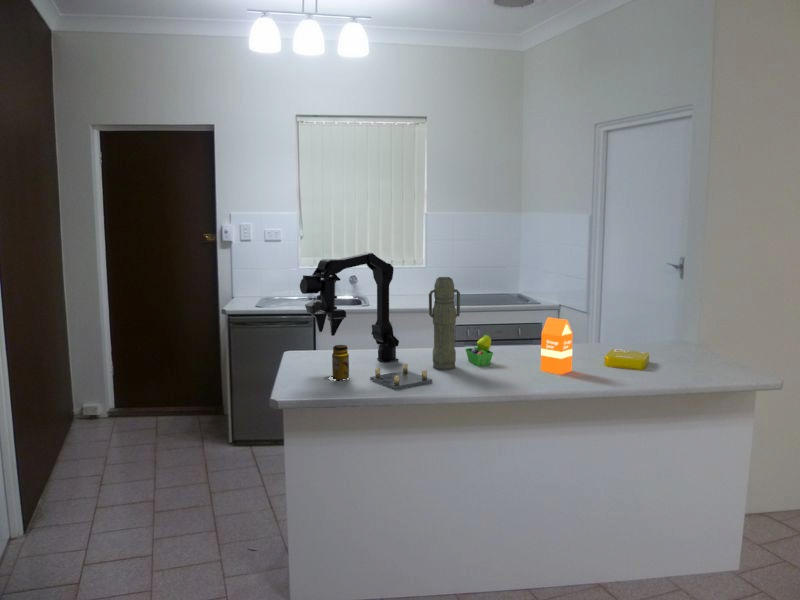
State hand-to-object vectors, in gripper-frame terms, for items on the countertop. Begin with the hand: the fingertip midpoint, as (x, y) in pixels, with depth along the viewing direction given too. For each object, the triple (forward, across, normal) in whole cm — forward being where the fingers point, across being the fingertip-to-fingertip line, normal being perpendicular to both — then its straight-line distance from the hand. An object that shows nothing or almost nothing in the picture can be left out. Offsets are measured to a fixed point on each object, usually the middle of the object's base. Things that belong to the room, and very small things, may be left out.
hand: (326, 333), depth 256 cm
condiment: (+15, +12, -2) cm, 19 cm away
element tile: (+10, +63, +99) cm, 118 cm away
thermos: (+13, +23, +39) cm, 47 cm away
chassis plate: (+14, +30, +14) cm, 35 cm away
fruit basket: (+12, +27, +55) cm, 62 cm away
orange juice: (+11, +53, +69) cm, 88 cm away
